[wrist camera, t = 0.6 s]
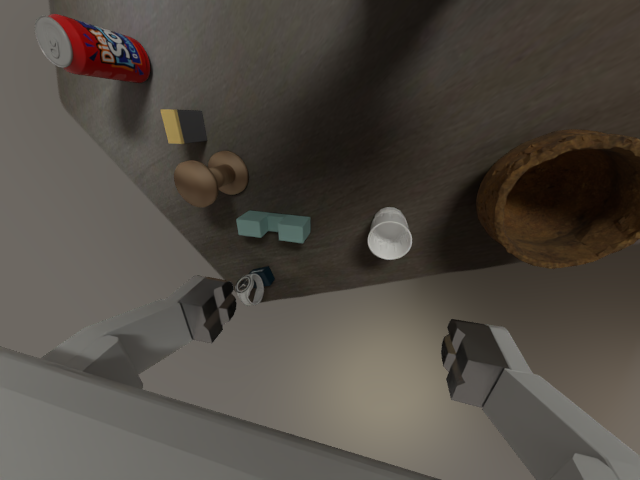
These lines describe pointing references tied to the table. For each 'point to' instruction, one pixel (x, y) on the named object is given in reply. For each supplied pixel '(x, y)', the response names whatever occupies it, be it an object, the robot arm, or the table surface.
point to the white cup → (389, 234)
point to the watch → (254, 285)
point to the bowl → (564, 198)
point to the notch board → (274, 225)
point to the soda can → (91, 49)
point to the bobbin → (211, 178)
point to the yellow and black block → (184, 126)
